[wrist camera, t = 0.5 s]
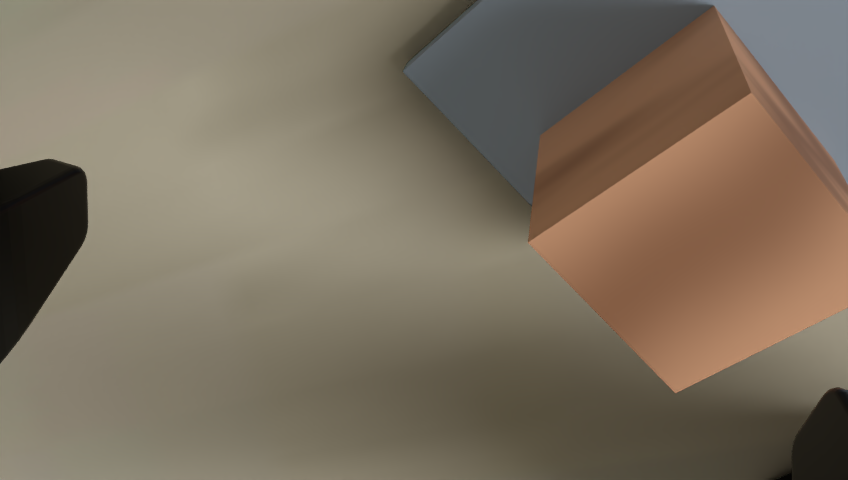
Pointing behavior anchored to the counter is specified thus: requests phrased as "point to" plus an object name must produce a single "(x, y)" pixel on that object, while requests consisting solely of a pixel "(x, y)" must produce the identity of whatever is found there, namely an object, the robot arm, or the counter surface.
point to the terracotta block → (694, 207)
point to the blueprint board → (615, 65)
